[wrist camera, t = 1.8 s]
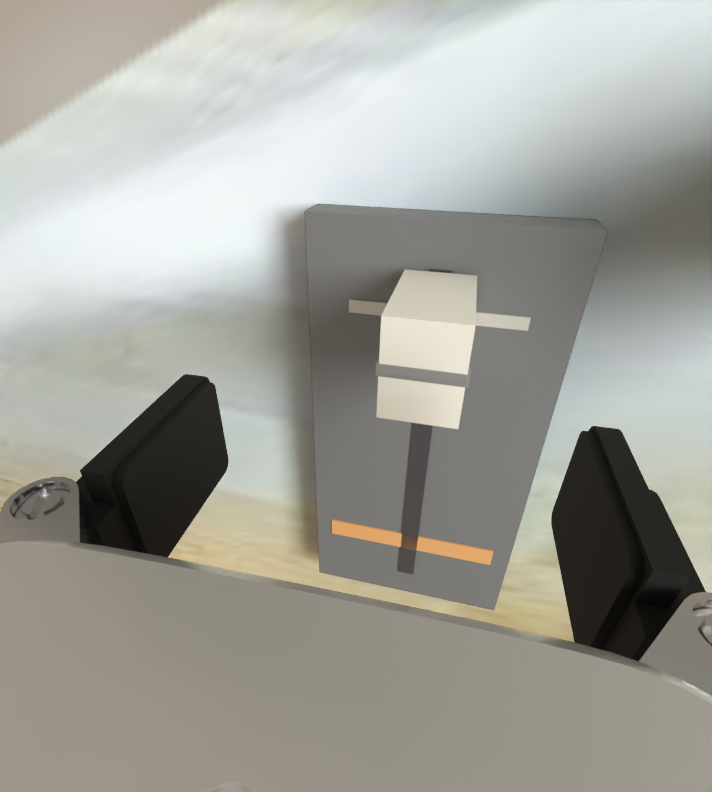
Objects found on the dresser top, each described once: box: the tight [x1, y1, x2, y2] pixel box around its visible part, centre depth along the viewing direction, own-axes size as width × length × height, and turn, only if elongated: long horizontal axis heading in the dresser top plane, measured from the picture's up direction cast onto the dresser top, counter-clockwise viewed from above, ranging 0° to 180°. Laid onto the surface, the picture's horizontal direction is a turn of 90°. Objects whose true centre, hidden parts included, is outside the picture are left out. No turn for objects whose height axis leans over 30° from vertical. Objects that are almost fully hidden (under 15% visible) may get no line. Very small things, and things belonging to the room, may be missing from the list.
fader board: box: [305, 204, 608, 610], centre depth 25 cm, size 12×24×2 cm, turn 179°
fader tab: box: [375, 269, 477, 429], centre depth 18 cm, size 3×4×5 cm
